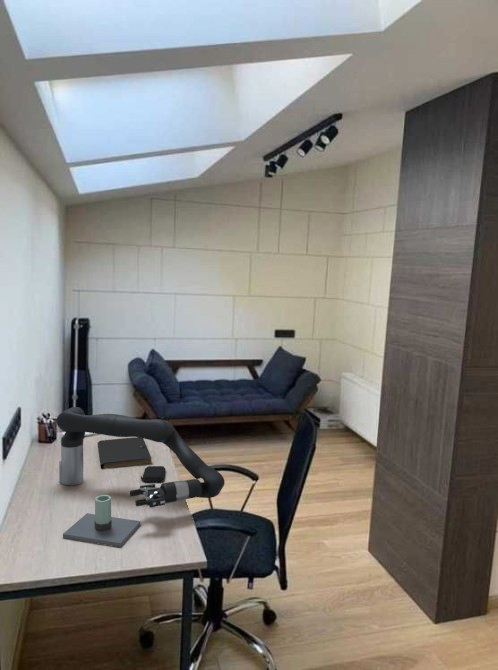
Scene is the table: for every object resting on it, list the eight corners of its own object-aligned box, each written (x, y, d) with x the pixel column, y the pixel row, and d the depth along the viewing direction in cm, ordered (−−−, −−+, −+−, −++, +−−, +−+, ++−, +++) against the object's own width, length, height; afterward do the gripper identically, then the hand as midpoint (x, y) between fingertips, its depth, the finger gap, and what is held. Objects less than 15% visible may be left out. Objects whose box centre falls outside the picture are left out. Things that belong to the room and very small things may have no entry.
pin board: (62, 537, 176) (62, 522, 175) (87, 516, 191) (87, 502, 191) (120, 547, 171) (120, 531, 171) (140, 525, 187) (140, 509, 186)
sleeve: (92, 529, 179) (92, 500, 178) (100, 522, 185) (100, 494, 183) (106, 532, 178) (106, 502, 177) (113, 524, 183) (113, 496, 182)
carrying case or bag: (143, 471, 238) (139, 484, 224) (143, 464, 238) (139, 477, 223) (165, 470, 239) (163, 483, 225) (165, 464, 239) (163, 477, 224)
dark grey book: (152, 457, 245) (100, 462, 237) (152, 465, 246) (100, 471, 238) (143, 436, 276) (97, 440, 268) (143, 443, 277) (97, 447, 269)
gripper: (169, 475, 198) (128, 481, 191) (181, 489, 186) (137, 496, 179) (168, 493, 199) (127, 499, 192) (180, 508, 187) (137, 516, 179)
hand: (132, 498), depth 185 cm, fingers open, 8 cm apart
